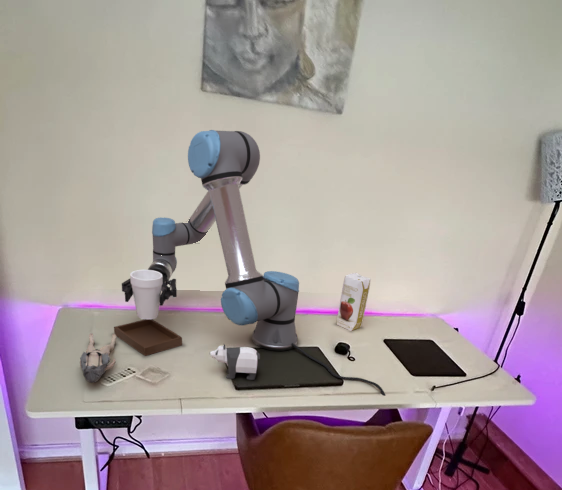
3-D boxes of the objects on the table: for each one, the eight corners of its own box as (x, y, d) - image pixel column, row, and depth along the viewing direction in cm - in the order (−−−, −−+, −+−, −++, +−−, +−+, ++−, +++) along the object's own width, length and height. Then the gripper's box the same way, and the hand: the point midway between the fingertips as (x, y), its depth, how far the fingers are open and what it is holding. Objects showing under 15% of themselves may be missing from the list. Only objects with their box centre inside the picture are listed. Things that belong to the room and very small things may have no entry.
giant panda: (258, 371, 156) (261, 343, 151) (258, 381, 152) (261, 351, 146) (209, 368, 155) (210, 339, 149) (208, 377, 150) (209, 348, 145)
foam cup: (155, 323, 157) (154, 282, 150) (126, 318, 158) (124, 277, 151) (167, 312, 165) (167, 272, 158) (140, 307, 166) (138, 267, 159)
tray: (182, 345, 165) (182, 337, 164) (145, 356, 157) (144, 347, 155) (150, 325, 175) (150, 317, 174) (114, 334, 166) (113, 326, 165)
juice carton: (345, 319, 198) (354, 271, 188) (363, 328, 193) (374, 278, 183) (333, 324, 193) (342, 274, 183) (351, 332, 188) (361, 282, 178)
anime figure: (118, 328, 160) (109, 363, 134) (119, 350, 163) (111, 389, 137) (85, 327, 158) (70, 362, 132) (87, 350, 161) (72, 389, 135)
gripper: (191, 288, 176) (181, 315, 157) (125, 281, 174) (106, 307, 156) (192, 267, 172) (181, 291, 153) (124, 259, 170) (105, 283, 151)
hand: (143, 299), depth 154 cm, fingers closed on foam cup, 9 cm apart
